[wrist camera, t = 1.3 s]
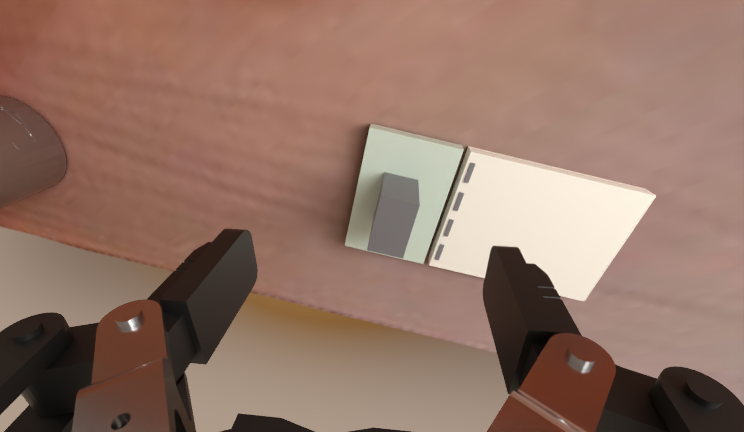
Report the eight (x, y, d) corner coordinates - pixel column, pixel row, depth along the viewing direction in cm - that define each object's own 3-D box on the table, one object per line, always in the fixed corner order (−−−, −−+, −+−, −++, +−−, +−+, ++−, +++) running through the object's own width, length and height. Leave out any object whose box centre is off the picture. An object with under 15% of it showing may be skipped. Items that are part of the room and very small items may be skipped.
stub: (461, 145, 30) (473, 171, 24) (422, 256, 36) (425, 298, 30) (371, 123, 30) (362, 145, 24) (346, 238, 36) (335, 277, 30)
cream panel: (645, 188, 30) (657, 196, 29) (577, 291, 36) (584, 302, 35) (468, 146, 30) (471, 151, 29) (428, 256, 36) (429, 265, 34)
